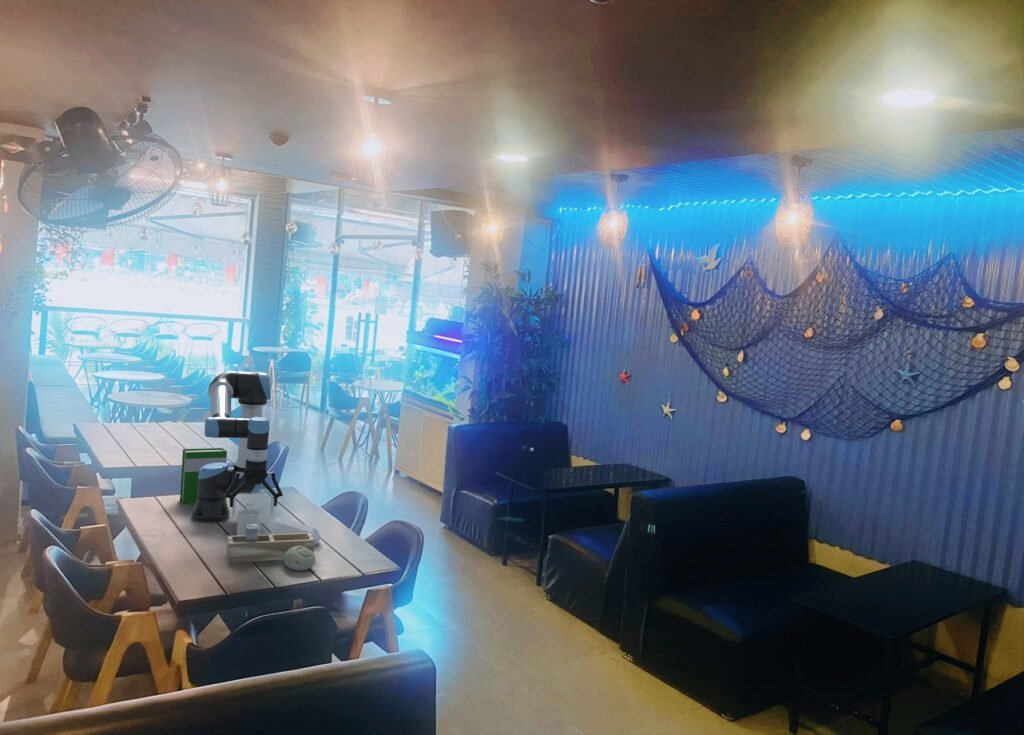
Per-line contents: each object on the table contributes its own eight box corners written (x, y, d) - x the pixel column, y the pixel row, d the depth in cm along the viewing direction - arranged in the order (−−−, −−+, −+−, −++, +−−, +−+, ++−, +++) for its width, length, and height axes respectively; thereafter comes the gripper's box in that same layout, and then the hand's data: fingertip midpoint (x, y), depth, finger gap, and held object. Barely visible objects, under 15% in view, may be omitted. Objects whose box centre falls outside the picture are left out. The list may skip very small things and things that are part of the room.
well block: (226, 553, 274) (227, 535, 273) (309, 549, 286) (310, 532, 286) (227, 562, 265) (229, 544, 264) (313, 558, 278) (314, 540, 277)
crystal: (264, 526, 298) (307, 539, 286) (276, 514, 303) (319, 527, 292) (269, 539, 301) (313, 553, 290) (281, 527, 307) (324, 540, 295)
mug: (260, 542, 289) (262, 515, 289) (237, 543, 286) (239, 515, 285) (257, 532, 300) (259, 506, 299) (234, 533, 296) (236, 507, 295)
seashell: (321, 549, 267) (297, 551, 259) (318, 571, 266) (294, 573, 259) (301, 543, 275) (278, 544, 268) (299, 564, 275) (275, 566, 267)
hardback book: (182, 504, 328) (186, 452, 326) (179, 500, 334) (182, 448, 332) (223, 501, 338) (227, 451, 336) (220, 497, 344) (223, 447, 342)
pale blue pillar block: (244, 552, 274) (246, 524, 273) (255, 552, 275) (257, 523, 274) (245, 558, 268) (247, 529, 267) (256, 557, 270) (258, 528, 269)
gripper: (220, 462, 261) (217, 519, 263) (292, 461, 271) (288, 516, 273) (220, 457, 268) (216, 512, 270) (289, 457, 278) (286, 510, 280)
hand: (252, 515), depth 272 cm, fingers open, 13 cm apart
